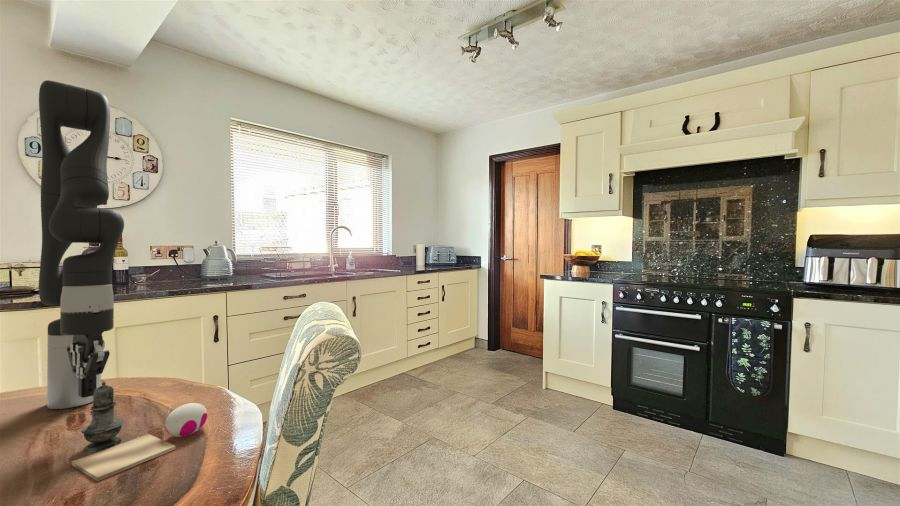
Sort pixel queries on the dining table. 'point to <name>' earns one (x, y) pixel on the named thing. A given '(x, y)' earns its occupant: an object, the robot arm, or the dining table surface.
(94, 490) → the dining table surface
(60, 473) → the dining table surface
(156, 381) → the dining table surface
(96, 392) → the grey chess piece
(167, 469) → the dining table surface
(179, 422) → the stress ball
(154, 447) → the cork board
